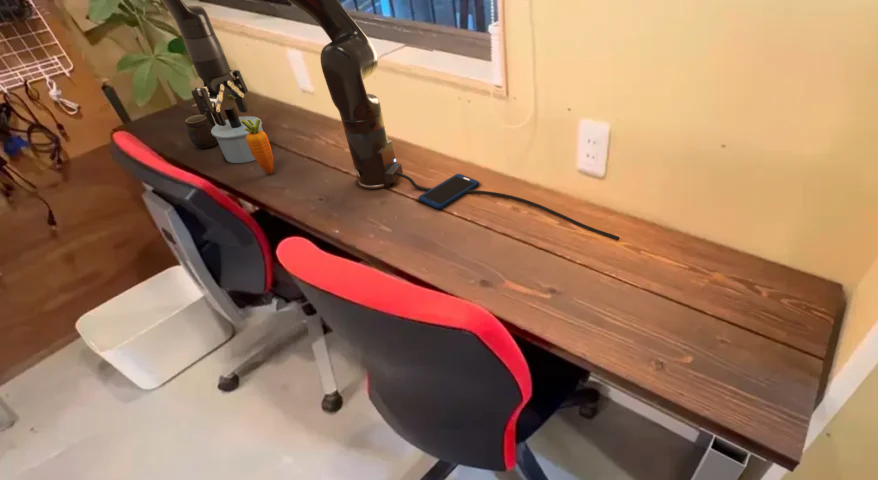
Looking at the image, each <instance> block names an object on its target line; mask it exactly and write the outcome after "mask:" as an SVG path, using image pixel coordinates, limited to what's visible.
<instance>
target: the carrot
mask: <svg viewBox="0 0 878 480" xmlns="http://www.w3.org/2000/svg"><path fill="white" fill-rule="evenodd" d="M260 120H261V119H260V118H259V119H257V120H256V127H255V125H254V123H253V122H252V121H251V120H250V119H249V120H247V121H248V122H249V123H250V124H251V125H252V126H251V125H250V124H249V123H248V122H247V121H246V120H244V119H243V120H242V123H243V124H244V125H245V126H246V127H247V128H245V129H244V130H246V131H248V132H250V133H248V134H247V136H246V141H247V144H248V146H249V148H250V150H251V152H252V155H253V156H254V158H255V159H256V160H255V161H256V163H257V164H258V165H259V167H260V168H261V169H262V170H263V171H264V172H266V173H267V174H268V175H272V174H273V172H274V156H273V150H272V146H271V143H270V140H269V137H268V135H267V133H266V132H265V131H264V130H263V131H264V132H263V131H259V130H258V129H259V123H260Z"/></svg>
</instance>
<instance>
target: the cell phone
mask: <svg viewBox="0 0 878 480" xmlns="http://www.w3.org/2000/svg"><path fill="white" fill-rule="evenodd" d="M479 185H480V182H479V180H476V179H474V178H471V177H469V176H467V175H464V174H461V173H456V174H454V175H453V176H450V177H449V178H447V179H445V180H444V181H442V182H440V183H439V184H437V185H436V186H434V187H433V188H430V189H431V190H429V191H424V193H422V194H421V195H419V196H418V200H419V202H422V203H424V204H425V205H428V206H430V207H432V208H434V209H436V210H437V209H438V210H442V209H444V208H445V207H447V206H449V205H450V204H451V203H453V202H455V201H456V200H458V199H459V198H461V197H462V196H464V195H465V194H467V193H466V190H475V188H477V187H478V186H479Z"/></svg>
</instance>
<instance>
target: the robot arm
mask: <svg viewBox="0 0 878 480" xmlns="http://www.w3.org/2000/svg"><path fill="white" fill-rule="evenodd" d="M160 1H161V2H162V4H163V5H164V7H165V8H166V9H167V11H168V12H169V14H170V15H171V16H172V18H173V20H174V21H175V23H176V25H177V28H178V30H179V33H180V36H181V37H182V39H183V43H184V46H185V49H186V51H187V54H188V56H189V58H190V60H191V62H192V65H193V67H194V70H195V72H196V74H197V76H198V77H199V78H200V79H201V80H202V83H203V86H201V87H194V89H193V90H195V93H196V95H197V98H198V100H199V103H200V105H201V108H202V110H203V112H209V113H212V115H213V117H214V120H215V122H216V123H217V124H218V125H219V126H225V125H226V121H225V120H226V119H225V116H224V114H223V112H222V111H221V104H223V101H224V100H223V99H224V98H226V97H227V96H229V95H231V96H233V97H234V102H235V104H236V106H237V109H238V112H240V113H243V114H244V113H245V114H246V113H247V112H248V111H249V110H248V105H247V103H246V99H245V94H247V93H248V92H249V91H248V88H247V86H246V83H245V80H244V78H243V76H242V73H241V71H240V70H239V69H231V67H230V65H229V62H228V60H227V57H226V55H225V52H224V50H223V47H222V45H221V44H222V43H221V42H220V40H219V38H218V36H217V35H216V32H215V30H214V28H213V25H212V23H211V21H210V17H209V15H208V13H207V11H206V9H205V8H203V7H202V6H200V5H192V4H191V5H187V4H186V3H185V2H184V1H183V0H160ZM287 1H288V2H289V3H291V4H292V5H294V6H295V7H297V8H298V9H300V10H301V11H302V12H304V13H305V14H307V16H310V18H312V20H314V21H315V22H316V23H317V24H318V25H319V26H320V27H321V28H322V30H323V31H324V32H325V34H326V35H327V36H328V38H329V39H330V41H331V42H328V43H327V44H325V45H324V46H323V47H322V49H321V51H320V57H319V59H320V66H321V71H322V74H323V77H324V80H325V83H326V87H327V90H328V92H329V96H330V99H331V101H332V103H333V104H334V106H335V107H336V109H337V110H338V113H339V116H340V120H341V123H342V127H343V130H344V133H345V139H346V141H347V145H348V149H349V152H350V156H351V160H352V164H353V166H352V170H353V172H354V173H355V174H356V179H357V183H358V185H359V186H360V187H361V188H363V189H368V190H377V189H381V188H390V187H391V186H392V185H393V184H394V183H395V182H397V180H398V179H399V178H400V177H401V178H404V179H405V180H406V181H409V182H410V183H411V185H412V186H413V187H414V188H416V189H418V190H420V191H423V192H427V191H429V190H431V189H432V188H430V187H429V188H427V187H423V186H421V185H418V184H417V183H416V182H415V181H414V180H413V179H412V178H411V177H410V176H408V175H406V174H404V173H403V167H402V164H401V163H397V158H396V154H395V149H394V143H393V141H392V140H391V139H389V138H388V133H387V129H386V125H385V119H384V115H383V111H382V105H381V102H380V99H379V98H378V96H376V95H375V94H371V93H367V90H366V87H365V84H364V80H366V79H367V78H369V77H370V76H371V75H373V74H374V73H375V72H376V70H377V68H378V64H379V60H378V54H377V51H376V49H375V47H374V46H373V43H372V42H371V40H370V39H369V37H368V36H367V35H366V34H365V33H364V31H363V30H362V29H361V28H360V26H359V25H358V24H357V23H356V22H355V21H354V19H353V18H352V16H351V15H350V14H349V13H348V12H347V11H346V9H345V8H344V7H343V5H342V4H341V3H340V1H339V0H287ZM213 96H214V98H215V99H213ZM205 103H206V104H205ZM214 103H215V107H214ZM206 105H207V106H206ZM466 194H477V195H478V194H480V195H489V196H494V197H495V196H497V197H501V198H506V199H511V200H514V201H518V202H521V203H524V204H526V205H530V206H533V207H535V208H538V209H541V210H543V211H545V212H547V213H549V214H551V215H554V216H556V217H558V218H561V219H562V220H565V221H567V222H569V223H571V224H573V225H576V226H578V227H581V228H582V229H585V230H588V231H590V232H593V233H596V234H598V235H602V236H604V237H608V238H610V239H614V240H617V241H619V240H620V238H621V237H620V236H618V235H615V234H613V233H610V232H607V231H603V230H601V229H597V228H594V227H592V226H590V225H587V224H585V223H582V222H580V221H577V220H575V219H573V218H571V217H568V216H567V215H564V214H562V213H560V212H558V211H555V210H553V209H551V208H549V207H547V206H544V205H541V204H539V203H536V202H534V201H531V200H527V199H525V198H522V197H518V196H514V195H510V194H506V193H501V192H495V191H487V190H479V189H478V190H476V189H472V190H466Z"/></svg>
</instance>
